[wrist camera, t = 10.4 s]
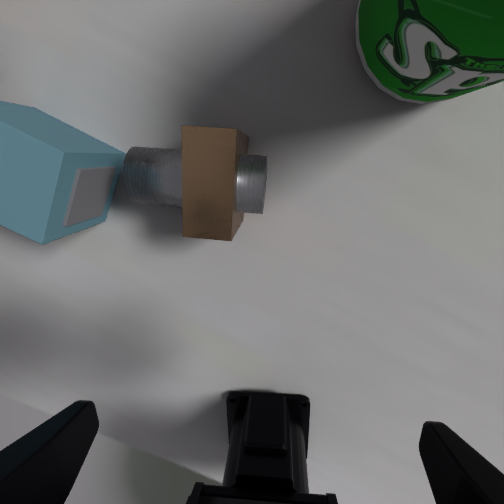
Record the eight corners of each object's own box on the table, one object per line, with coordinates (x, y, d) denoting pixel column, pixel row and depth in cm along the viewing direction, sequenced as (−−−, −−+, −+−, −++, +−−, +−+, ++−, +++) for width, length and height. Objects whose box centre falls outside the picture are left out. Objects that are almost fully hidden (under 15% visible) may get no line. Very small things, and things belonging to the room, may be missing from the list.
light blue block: (129, 155, 18) (68, 154, 13) (108, 222, 19) (45, 246, 14) (32, 106, 17) (-73, 84, 12) (19, 178, 19) (-80, 187, 14)
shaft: (270, 138, 17) (266, 131, 12) (263, 221, 18) (258, 243, 14) (153, 130, 17) (108, 120, 12) (156, 212, 19) (117, 230, 14)
